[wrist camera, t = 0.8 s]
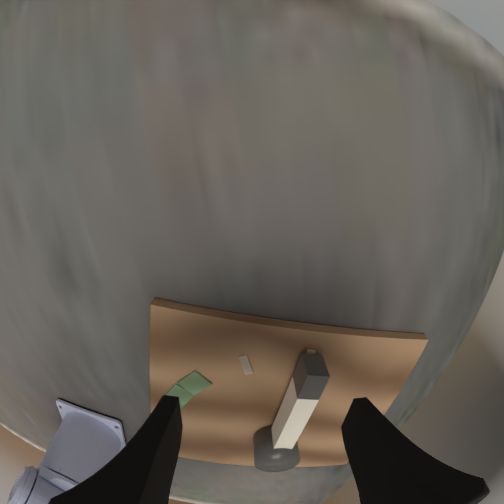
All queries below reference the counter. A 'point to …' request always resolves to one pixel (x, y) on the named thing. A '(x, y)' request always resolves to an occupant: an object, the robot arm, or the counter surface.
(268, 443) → the peg
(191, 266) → the counter surface
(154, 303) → the board
